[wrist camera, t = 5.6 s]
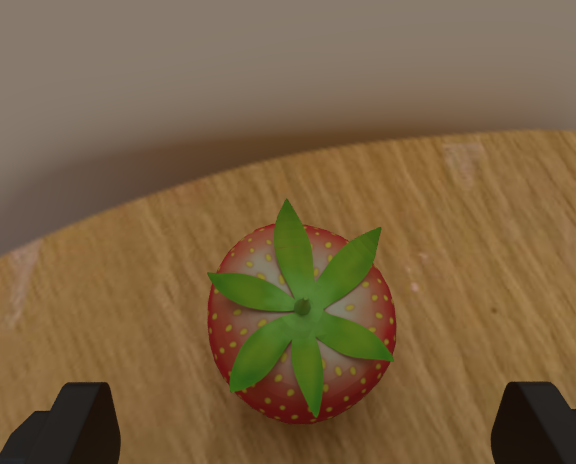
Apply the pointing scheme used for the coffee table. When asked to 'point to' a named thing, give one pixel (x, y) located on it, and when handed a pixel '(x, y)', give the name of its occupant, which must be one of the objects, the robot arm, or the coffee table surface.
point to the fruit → (301, 320)
